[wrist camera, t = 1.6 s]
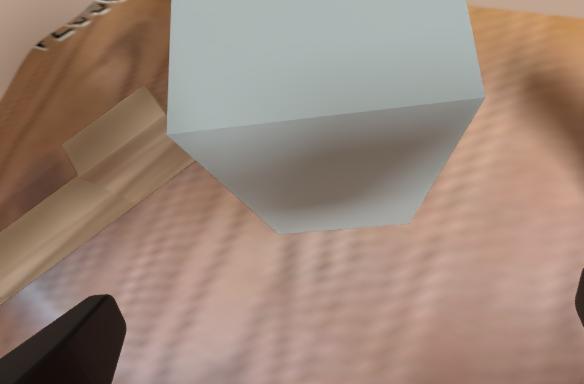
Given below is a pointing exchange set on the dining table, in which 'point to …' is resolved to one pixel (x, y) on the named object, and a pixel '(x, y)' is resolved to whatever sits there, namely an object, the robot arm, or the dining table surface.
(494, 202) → the dining table surface
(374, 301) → the dining table surface
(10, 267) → the slotted board
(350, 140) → the pale grey upright block
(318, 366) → the dining table surface
